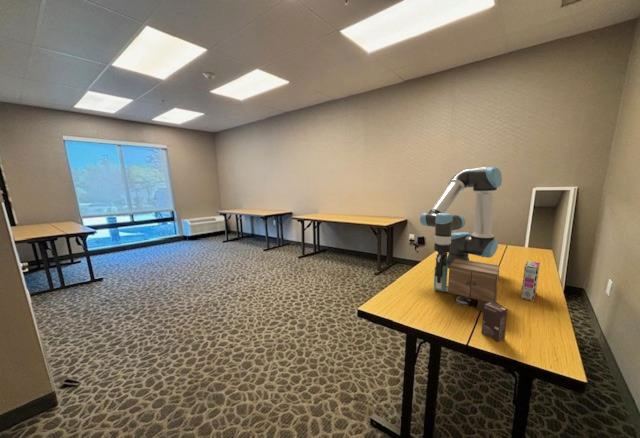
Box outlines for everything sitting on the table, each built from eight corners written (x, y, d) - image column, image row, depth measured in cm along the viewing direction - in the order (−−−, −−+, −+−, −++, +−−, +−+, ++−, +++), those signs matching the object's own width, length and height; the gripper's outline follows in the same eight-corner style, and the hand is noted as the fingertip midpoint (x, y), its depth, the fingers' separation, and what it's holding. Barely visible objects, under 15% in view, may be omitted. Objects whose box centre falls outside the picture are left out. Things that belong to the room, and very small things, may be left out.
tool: (436, 285, 131) (437, 264, 130) (475, 294, 120) (477, 271, 118) (433, 289, 127) (434, 267, 126) (473, 298, 116) (475, 274, 114)
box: (480, 333, 91) (483, 303, 89) (488, 330, 93) (490, 301, 91) (497, 343, 86) (500, 311, 84) (505, 339, 88) (508, 308, 86)
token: (457, 299, 119) (457, 294, 118) (471, 302, 115) (471, 298, 114) (454, 304, 114) (455, 299, 114) (469, 307, 110) (469, 303, 110)
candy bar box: (534, 301, 114) (538, 268, 112) (520, 298, 118) (524, 265, 115) (536, 293, 122) (540, 262, 120) (523, 290, 125) (526, 260, 123)
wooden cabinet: (453, 292, 126) (455, 258, 123) (496, 302, 114) (499, 265, 112) (446, 303, 114) (448, 266, 111) (493, 316, 103) (497, 275, 100)
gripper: (439, 239, 134) (437, 279, 137) (429, 246, 120) (427, 290, 123) (454, 241, 129) (451, 282, 132) (446, 248, 115) (443, 294, 118)
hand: (440, 286), depth 128 cm, fingers closed on tool, 5 cm apart
